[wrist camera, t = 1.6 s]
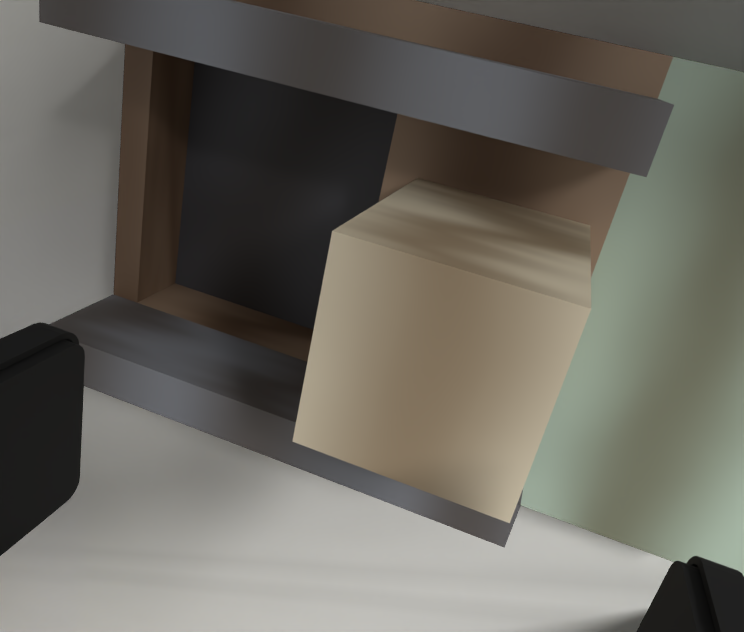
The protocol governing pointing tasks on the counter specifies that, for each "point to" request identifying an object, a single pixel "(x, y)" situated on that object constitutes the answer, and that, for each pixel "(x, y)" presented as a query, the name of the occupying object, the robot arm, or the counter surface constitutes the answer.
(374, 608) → the counter surface
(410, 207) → the ash block
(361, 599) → the counter surface
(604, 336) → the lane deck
